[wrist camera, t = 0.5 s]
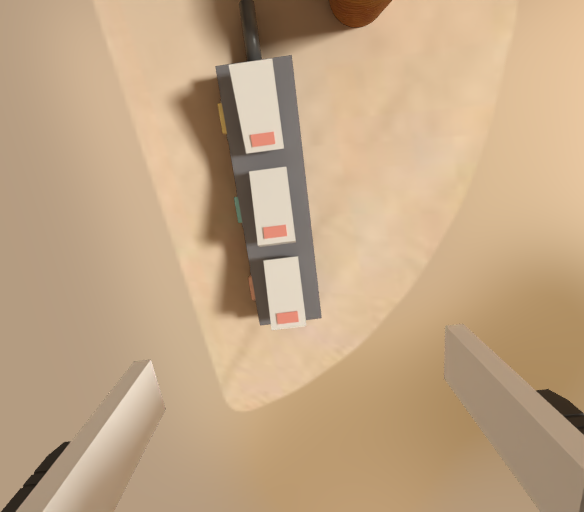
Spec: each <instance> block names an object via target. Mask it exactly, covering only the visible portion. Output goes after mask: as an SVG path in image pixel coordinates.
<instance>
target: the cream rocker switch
mask: <svg viewBox="0 0 584 512" xmlns="http://www.w3.org/2000/svg"><path fill="white" fill-rule="evenodd" d="M263 262H264V270H265V278H266V287H267V295H268V304H269V312H270V321H271V329H272V330H278V329H286V328H295V327H303V326H306V317H305V309H304V301H303V293H302V285H301V277H300V269H299V261H298V256H296V257H288V258H281V259H273V260H265V261H263Z"/></svg>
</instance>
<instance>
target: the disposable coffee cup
mask: <svg viewBox="0 0 584 512" xmlns="http://www.w3.org/2000/svg"><path fill="white" fill-rule="evenodd" d="M391 1H392V0H329V3H330V7H331V9H332V11H333V14H334V15H335V17H336V18H337V19H338V20H339V21H340V22H341V23H343V24H344V25H347V26H350V27H355V28H356V27H363V26H365V25H368V24H370V23H371V22H373V21H374V20H375V19H376V18H377V17H378V16H379V14H380V13H381V12H382V11H383V10H384V9H385V8H386V7H387V6H388V4H389V3H390V2H391Z"/></svg>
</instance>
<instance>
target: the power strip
mask: <svg viewBox="0 0 584 512" xmlns="http://www.w3.org/2000/svg"><path fill="white" fill-rule="evenodd" d="M239 9H240V15H241V22H242V29H243V36H244V42H245V49H246V56H247V62H251V61H258V60H265V59H262V57H261V50H260V43H259V35H258V28H257V21H256V13H255V6H254V1H253V0H241V1H240V2H239ZM268 59H272V61H273V68H274V76H275V83H276V91H277V99H278V106H279V114H280V121H281V129H282V136H283V144H284V149H276V150H269V151H262V152H254V153H247V154H246V150H245V145H244V140H243V135H242V130H241V125H240V120H239V115H238V110H237V105H236V100H235V95H234V90H233V85H232V80H231V75H230V70H229V65H231V64H227V65H220V66H215V67H216V73H217V79H218V84H219V90H220V96H221V99H220V100H221V103H219V104H218V110H219V116H220V121H221V127H222V133H223V134H227V140H228V142H229V148H230V154H231V160H232V166H233V171H234V177H235V183H236V189H237V190H236V192H237V197H234V201H235V207H236V212H237V218H238V223H242V227H243V229H244V235H245V241H246V247H247V252H248V258H249V264H250V273H251V276H249V277H248V280H249V286H250V292H251V298H252V300H255V302H256V305H257V310H258V316H259V322H260V325H268V324H271V321H270V312H269V304H268V295H267V287H266V278H265V270H264V262H263V261H265V260H273V259H281V258H288V257H296V256H298V261H299V269H300V277H301V285H302V293H303V301H304V309H305V317H306V320H310V319H318V318H322V317H321V309H320V300H319V291H318V282H317V273H316V265H315V256H314V247H313V238H312V230H311V221H310V212H309V203H308V194H307V186H306V177H305V168H304V159H303V151H302V142H301V133H300V124H299V115H298V107H297V98H296V89H295V80H294V72H293V63H292V55H289V56H282V57H275V58H268ZM241 63H244V62H241ZM234 64H237V63H234ZM279 167H286V168H287V175H288V183H289V191H290V199H291V207H292V215H293V223H294V231H295V239H296V242H294V243H287V244H279V245H271V246H263V247H260V246H258V242H257V234H256V225H255V217H254V208H253V200H252V191H251V183H250V175H249V171H257V170H264V169H272V168H279Z"/></svg>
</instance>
